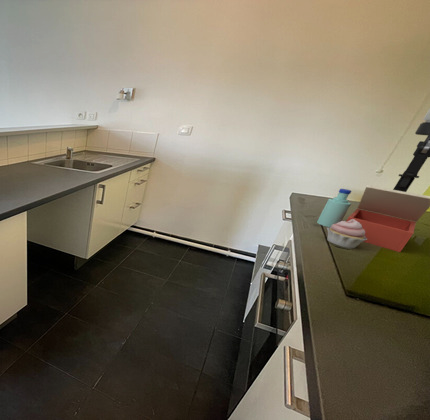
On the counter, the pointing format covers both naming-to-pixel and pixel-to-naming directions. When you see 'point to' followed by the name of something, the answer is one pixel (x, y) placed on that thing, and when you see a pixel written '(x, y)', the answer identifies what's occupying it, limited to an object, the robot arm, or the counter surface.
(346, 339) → the counter surface
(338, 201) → the bottle
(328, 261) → the counter surface
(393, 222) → the box
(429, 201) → the lid
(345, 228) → the cupcake
